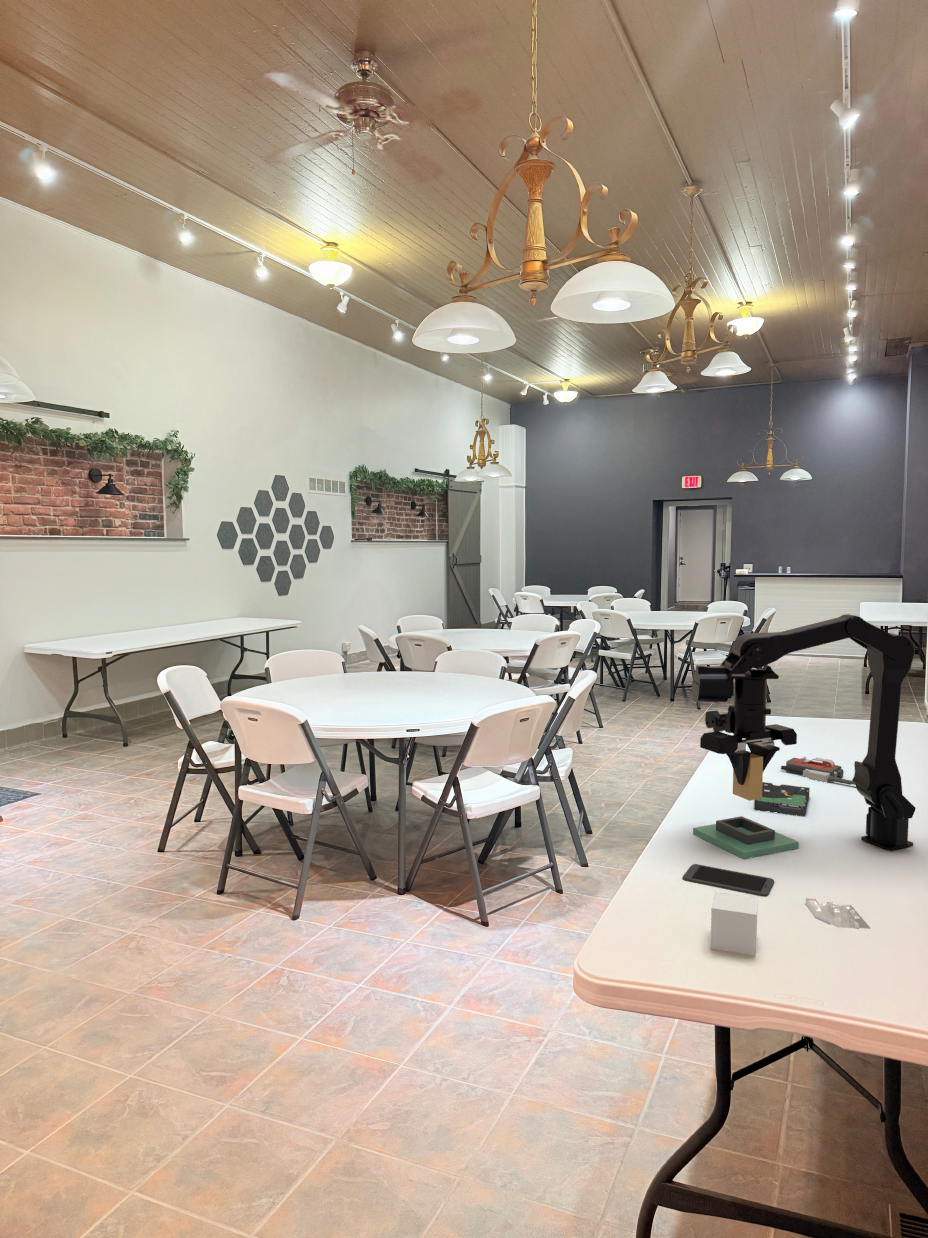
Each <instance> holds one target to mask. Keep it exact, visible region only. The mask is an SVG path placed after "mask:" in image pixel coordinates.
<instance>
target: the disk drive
mask: <svg viewBox="0 0 928 1238" xmlns="http://www.w3.org/2000/svg"><path fill="white" fill-rule="evenodd" d="M810 790H811V789H810V787H805V786H797V785H788V784H783V783H782V784H780V785H777V784H773V782H772V783H771V782H764V781H762V799H757V800H753V810H754V811H758V810H760V812H765V811H770V812H769V813H773V812H777V813H776V814H781V813H782V814H783V815H788V814H789V815H790V816H796V815H797V817H806V815H807V810H808V805H809V801H810Z"/></svg>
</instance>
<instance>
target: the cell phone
mask: <svg viewBox="0 0 928 1238" xmlns="http://www.w3.org/2000/svg"><path fill="white" fill-rule="evenodd" d="M682 881H686V882H689V883H694V884H698V885H704V886H709V887H713V888H720V889H723V890H728V891H734V892H738V893H743V894H748V895H751V896H756V897H763V898H764V897H765V898H766V897H769V895H770V894H771V891H772V889H773V887H774V885H775V880H774V879H773V878H771V877H766V876H761V875H756V874H750V873H747V872H746V873H745V872H739V871H735V870H730V869H724V868H718V867H714V866H707V865H703V864H698V863H693V864H691V865H690V866H689V868H688V869H687V871H686V872H684V874H683V875H682Z"/></svg>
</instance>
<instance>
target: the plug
mask: <svg viewBox="0 0 928 1238" xmlns="http://www.w3.org/2000/svg"><path fill="white" fill-rule="evenodd" d="M763 773H764V772H763V757H762V756H759V755H756V754H753V753H751V755H750V760H749V765H748V770H747V775H746V779H745V782H744V785H740V784H738V781H737V778H736V776H735V773H734V770H733V769H732V795H734V796H737V797H740V798H742V799H743V800H744V799H745V800H747V801H750V802H751V801H754V800H757V799H762V782H764V781H763V777H764V776H763Z"/></svg>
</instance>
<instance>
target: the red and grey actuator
mask: <svg viewBox="0 0 928 1238" xmlns="http://www.w3.org/2000/svg"><path fill="white" fill-rule="evenodd" d="M780 770H783V771H785V773H788V774H793V775H797V774H798V776H803V775H804V777H805V778H806V777H807V778H806V779H808V778H809V779H808V780H810V779H811V780H812V781H815V780H817V781H816V782H820V781H822V783H824V782H827V783H828V782H829V783H830V782H831V783H835V782H836V783H840V784H844V785H848V786H849V785H850V786H851V785H853V786H856V783H855V782H853V781H852V780H851V779H844V778H843V777H844V773H845V771H844V769H843V768H842V766H840V765H838V764H835V761H833V760H832V759H828V758H822V757H815V758H812V759H808V758H807V757H806V756H803V757H801V758H798V757H793V758H790V759H788V760H786V763H785V765H781V766H780ZM838 777H839V778H838Z"/></svg>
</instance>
